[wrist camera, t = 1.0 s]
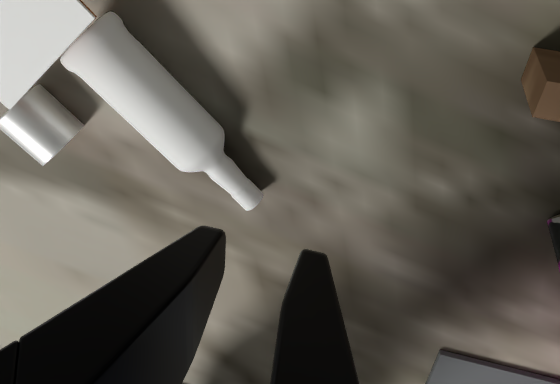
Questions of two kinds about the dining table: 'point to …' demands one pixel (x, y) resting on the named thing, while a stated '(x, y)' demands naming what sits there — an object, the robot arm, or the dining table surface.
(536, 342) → the dining table surface
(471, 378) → the mat
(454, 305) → the dining table surface
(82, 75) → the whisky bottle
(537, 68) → the back rail
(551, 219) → the candy bar box
